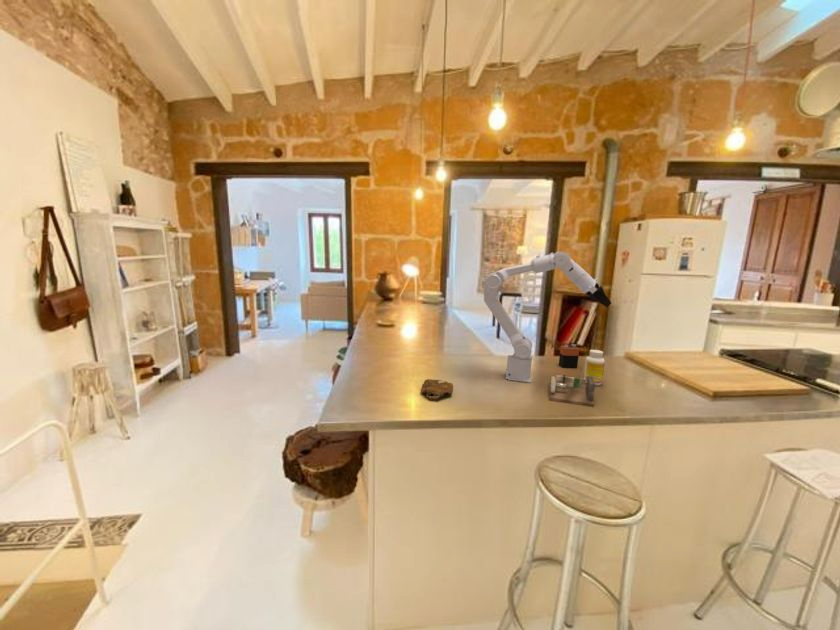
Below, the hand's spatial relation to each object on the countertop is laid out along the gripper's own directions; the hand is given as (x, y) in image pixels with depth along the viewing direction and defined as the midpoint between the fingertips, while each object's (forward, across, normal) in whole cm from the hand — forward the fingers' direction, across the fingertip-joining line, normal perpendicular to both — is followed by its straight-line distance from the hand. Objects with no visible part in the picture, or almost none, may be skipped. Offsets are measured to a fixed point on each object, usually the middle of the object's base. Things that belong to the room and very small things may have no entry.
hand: (607, 303), depth 136 cm
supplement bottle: (+21, +6, +25) cm, 33 cm away
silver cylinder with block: (+10, -10, +32) cm, 35 cm away
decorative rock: (-20, -27, +60) cm, 69 cm away
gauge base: (+13, -11, +31) cm, 36 cm away
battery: (+15, +24, +30) cm, 41 cm away
